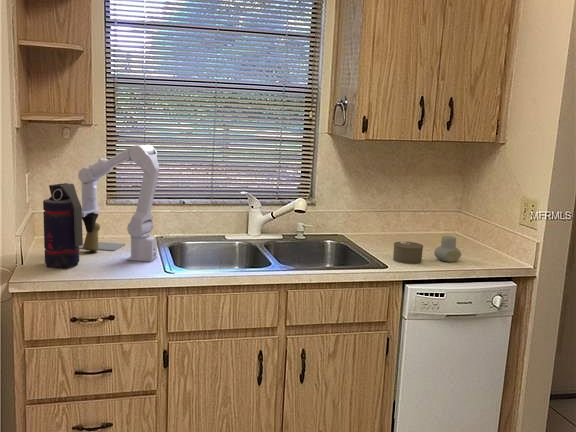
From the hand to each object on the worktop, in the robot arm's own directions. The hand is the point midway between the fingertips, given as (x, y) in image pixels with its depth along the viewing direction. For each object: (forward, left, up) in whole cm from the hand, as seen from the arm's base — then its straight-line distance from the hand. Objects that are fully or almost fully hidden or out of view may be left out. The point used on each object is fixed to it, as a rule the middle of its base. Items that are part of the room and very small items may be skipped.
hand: (89, 232), depth 241 cm
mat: (0, -11, -8) cm, 14 cm away
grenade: (+1, +21, -9) cm, 23 cm away
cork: (0, 0, -8) cm, 8 cm away
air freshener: (-144, -27, -9) cm, 147 cm away
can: (-127, -22, -9) cm, 129 cm away
